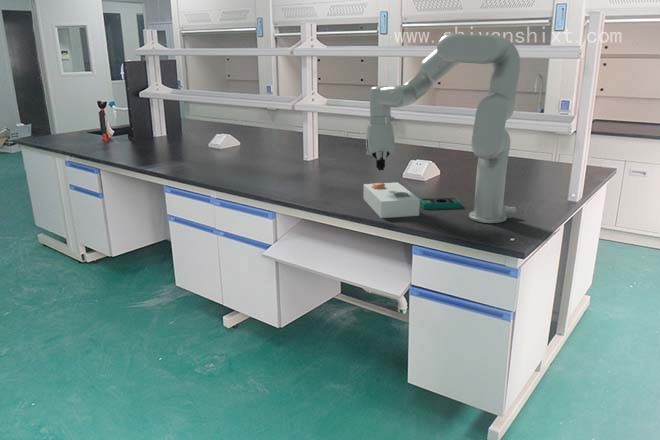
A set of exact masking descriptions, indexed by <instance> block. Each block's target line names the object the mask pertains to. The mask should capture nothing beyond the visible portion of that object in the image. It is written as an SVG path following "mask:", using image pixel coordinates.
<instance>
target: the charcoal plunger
mask: <svg viewBox="0 0 660 440" xmlns="http://www.w3.org/2000/svg"><path fill="white" fill-rule="evenodd" d="M396 197H408V193H406V192H398V193H396Z"/></svg>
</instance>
